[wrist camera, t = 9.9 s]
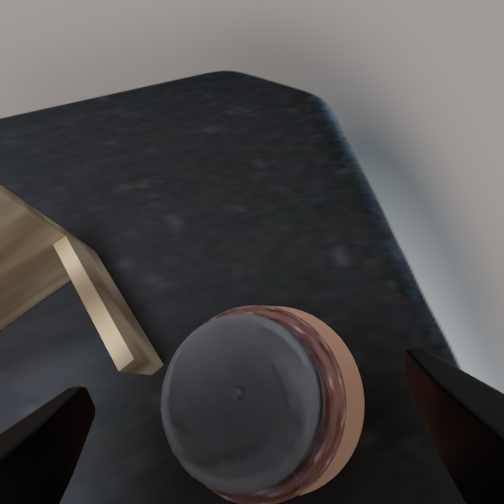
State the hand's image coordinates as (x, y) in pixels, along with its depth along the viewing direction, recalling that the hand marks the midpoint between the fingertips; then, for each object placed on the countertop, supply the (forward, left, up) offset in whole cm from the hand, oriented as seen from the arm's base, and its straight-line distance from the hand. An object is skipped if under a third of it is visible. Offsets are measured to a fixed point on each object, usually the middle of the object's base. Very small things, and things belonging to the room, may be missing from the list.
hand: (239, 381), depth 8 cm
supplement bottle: (0, 0, -10) cm, 10 cm away
